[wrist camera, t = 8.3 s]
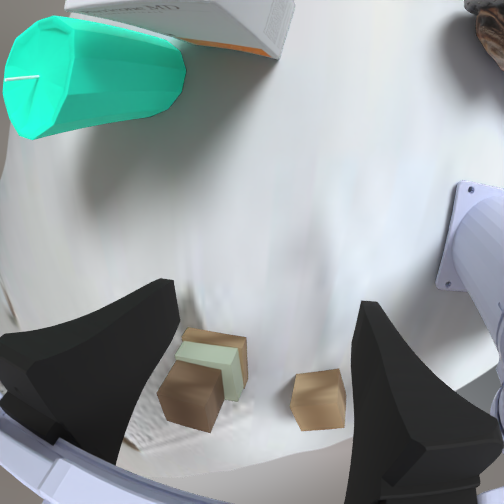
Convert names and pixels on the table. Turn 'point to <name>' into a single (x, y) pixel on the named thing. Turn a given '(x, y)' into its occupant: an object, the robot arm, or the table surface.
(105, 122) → the candle
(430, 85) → the table surface
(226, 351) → the slab top
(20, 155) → the table surface
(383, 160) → the table surface
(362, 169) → the table surface
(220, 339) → the slab bottom
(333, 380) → the oak cube
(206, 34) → the skincare box
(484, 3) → the bison figurine
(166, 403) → the walnut cube
